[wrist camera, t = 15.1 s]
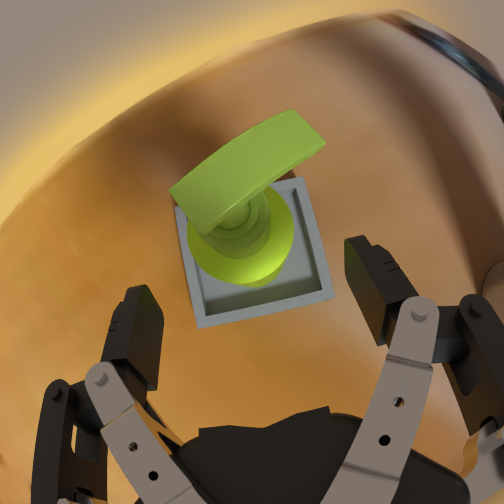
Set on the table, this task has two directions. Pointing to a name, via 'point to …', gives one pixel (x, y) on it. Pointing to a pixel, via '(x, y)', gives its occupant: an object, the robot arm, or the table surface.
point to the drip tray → (282, 287)
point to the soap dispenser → (245, 201)
